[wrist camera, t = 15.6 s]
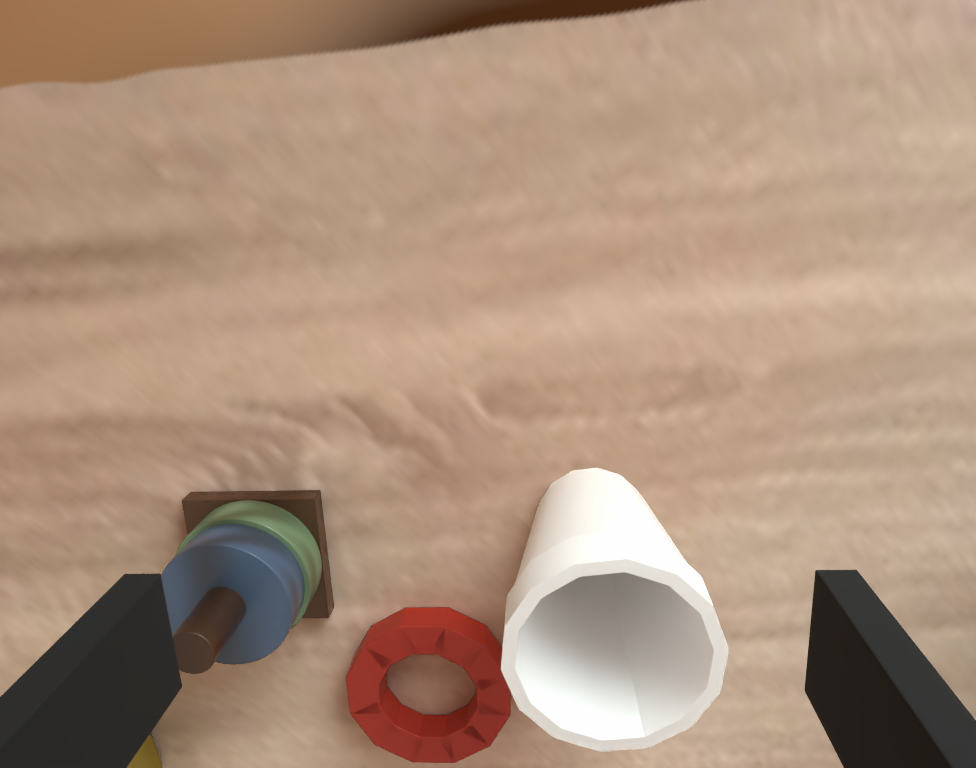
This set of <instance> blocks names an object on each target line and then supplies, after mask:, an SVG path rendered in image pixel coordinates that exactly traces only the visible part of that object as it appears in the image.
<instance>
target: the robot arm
mask: <svg viewBox="0 0 976 768" xmlns="http://www.w3.org/2000/svg"><path fill="white" fill-rule="evenodd" d="M181 687H182V683H181V678H180V673H179V667H178V662H177V657H176V652H175V646H174V641H173V636H172V631H171V626H170V620H169V615H168V610H167V605H166V599H165V594H164V589H163V584H162V579H161V574H125V575H123V576H122V577H121V578H120V579H119V580H118V581H117V582H116V583H115V584H114V585H113V586H112V587H111V588H110V589H109V590H108V591H107V592H106V593H105V594H104V595H103V596H102V597H101V598H100V599H99V600H98V601H97V602H96V603H95V604H94V605H93V606H92V607H91V608H90V609H89V610H88V611H87V612H86V613H85V614H84V615H83V616H82V617H81V618H80V619H79V620H78V621H77V622H76V623H75V624H74V625H73V626H72V627H71V628H70V629H69V630H68V631H67V632H66V633H65V634H64V635H63V636H62V637H61V638H60V639H59V640H58V641H57V642H56V643H55V644H54V645H53V646H52V647H51V648H50V649H49V650H48V651H47V652H46V653H44V654H43V655H42V656H41V657H40V658H39V659H38V660H37V661H36V662H35V663H34V664H33V665H32V666H31V667H30V668H29V669H28V670H27V671H26V672H25V673H24V674H23V675H22V676H21V677H20V678H19V679H18V680H17V681H16V682H15V683H14V684H13V685H12V686H11V687H10V688H9V689H8V690H7V691H6V692H5V693H4V694H3V695H2V696H1V697H0V768H127V766H128V765H129V763H130V762H131V761H132V759H133V758H134V756H135V755H136V753H137V752H138V750H139V749H140V747H141V746H142V744H143V743H144V742H145V740H146V739H147V737H148V736H149V734H150V733H151V731H152V730H153V728H154V727H155V725H156V724H157V723H158V721H159V720H160V718H161V717H162V715H163V714H164V712H165V711H166V709H167V708H168V706H169V705H170V704H171V702H172V701H173V699H174V698H175V696H176V695H177V693H178V692H179V690H180V689H181ZM805 692H806V694H807V696H808V698H809V700H810V702H811V704H812V706H813V708H814V710H815V712H816V714H817V716H818V718H819V719H820V721H821V723H822V725H823V727H824V729H825V731H826V733H827V735H828V737H829V739H830V741H831V743H832V745H833V747H834V749H835V751H836V753H837V755H838V757H839V759H840V761H841V763H842V765H843V766H844V768H976V720H975V719H974V718H973V716H972V715H971V714H970V713H969V711H968V710H967V709H966V708H965V706H964V705H963V704H962V703H961V701H960V700H959V699H958V697H957V696H956V695H955V694H954V692H953V691H952V690H951V689H950V687H949V686H948V685H947V684H946V682H945V681H944V680H943V679H942V677H941V676H940V675H939V673H938V672H937V671H936V670H935V668H934V667H933V666H932V665H931V663H930V662H929V661H928V660H927V658H926V657H925V656H924V655H923V653H922V652H921V651H920V649H919V648H918V647H917V646H916V644H915V643H914V642H913V641H912V639H911V638H910V637H909V636H908V634H907V633H906V632H905V631H904V629H903V628H902V627H901V625H900V624H899V623H898V622H897V620H896V619H895V618H894V617H893V615H892V614H891V613H890V612H889V610H888V609H887V608H886V607H885V605H884V604H883V603H882V601H881V600H880V599H879V598H878V596H877V595H876V594H875V593H874V591H873V590H872V589H871V588H870V586H869V585H868V584H867V583H866V581H865V580H864V579H863V577H862V576H861V575H860V574H859V572H858V571H857V570H816V571H815V582H814V593H813V604H812V615H811V626H810V637H809V648H808V659H807V670H806V681H805Z"/></svg>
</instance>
